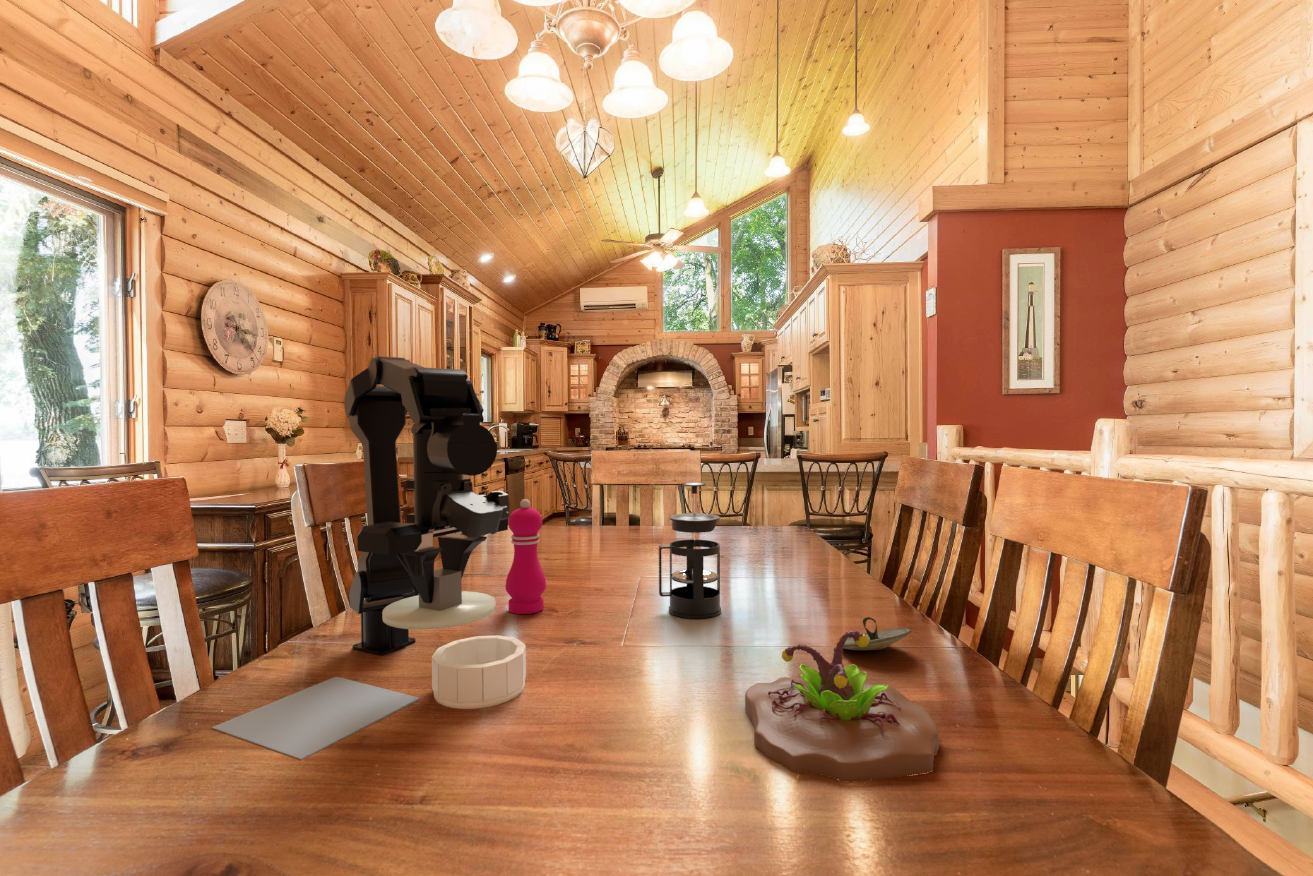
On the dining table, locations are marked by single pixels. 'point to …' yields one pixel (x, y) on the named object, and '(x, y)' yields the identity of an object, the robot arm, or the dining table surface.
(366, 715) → the mat
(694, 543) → the french press
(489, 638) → the bowl
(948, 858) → the dining table surface
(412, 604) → the cover
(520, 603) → the pepper mill
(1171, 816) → the dining table surface
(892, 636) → the lid
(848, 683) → the plant
